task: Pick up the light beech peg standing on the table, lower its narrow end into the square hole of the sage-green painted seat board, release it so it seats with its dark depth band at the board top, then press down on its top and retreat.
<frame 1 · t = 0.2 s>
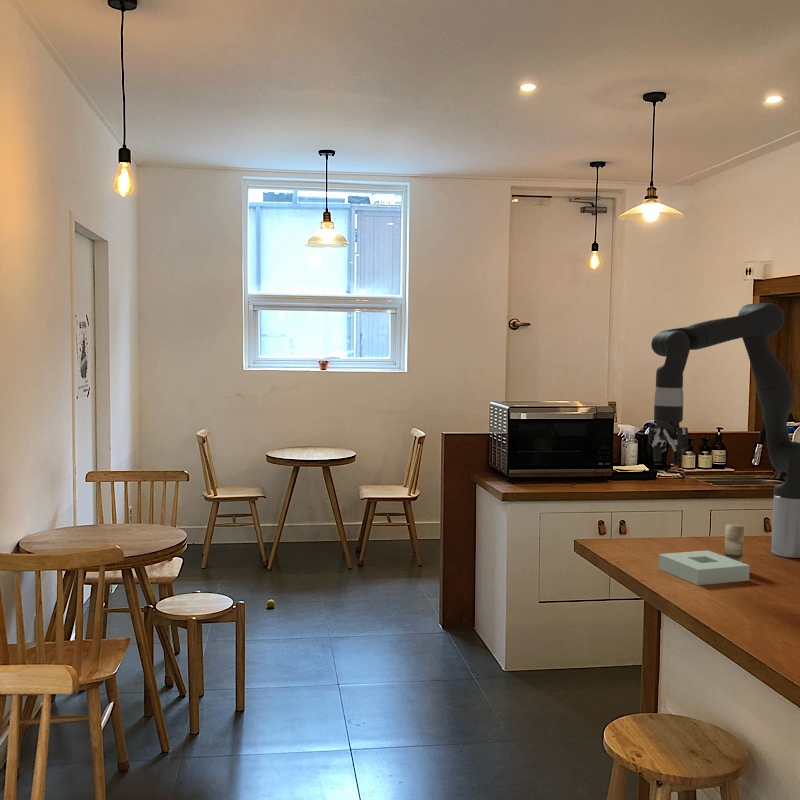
hand: (666, 463, 222), 28 cm above the worktop, fingers open, 8 cm apart
peg: (732, 569, 220), on the worktop
seat board: (702, 574, 215), on the worktop
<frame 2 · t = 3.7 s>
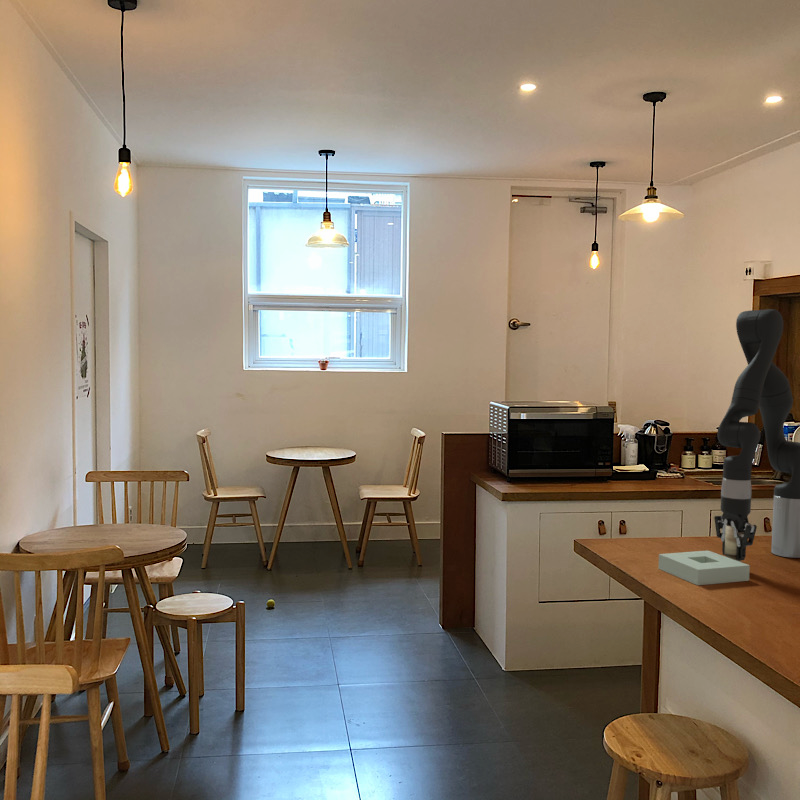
hand: (733, 557, 220), 3 cm above the worktop, fingers closed on peg, 4 cm apart
peg: (732, 569, 220), on the worktop, touching gripper
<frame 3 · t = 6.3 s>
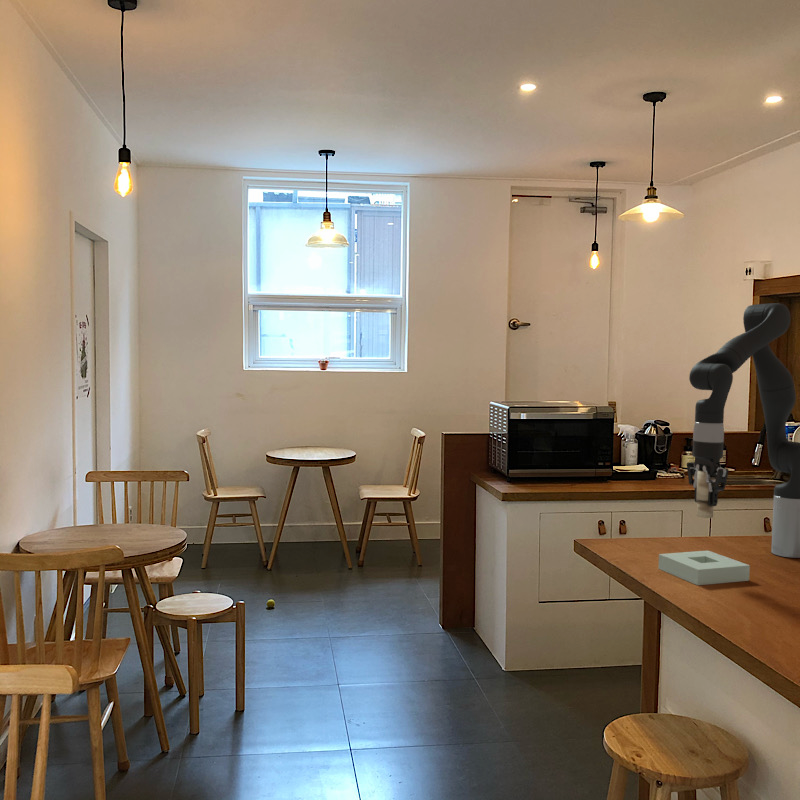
hand: (705, 503, 213), 19 cm above the worktop, fingers closed on peg, 4 cm apart
peg: (704, 516, 214), point 16 cm above the worktop, touching gripper
when the fingers open (6 cm above the worktop, at t = 8.9 s): peg drops 2 cm, resting in seat board.
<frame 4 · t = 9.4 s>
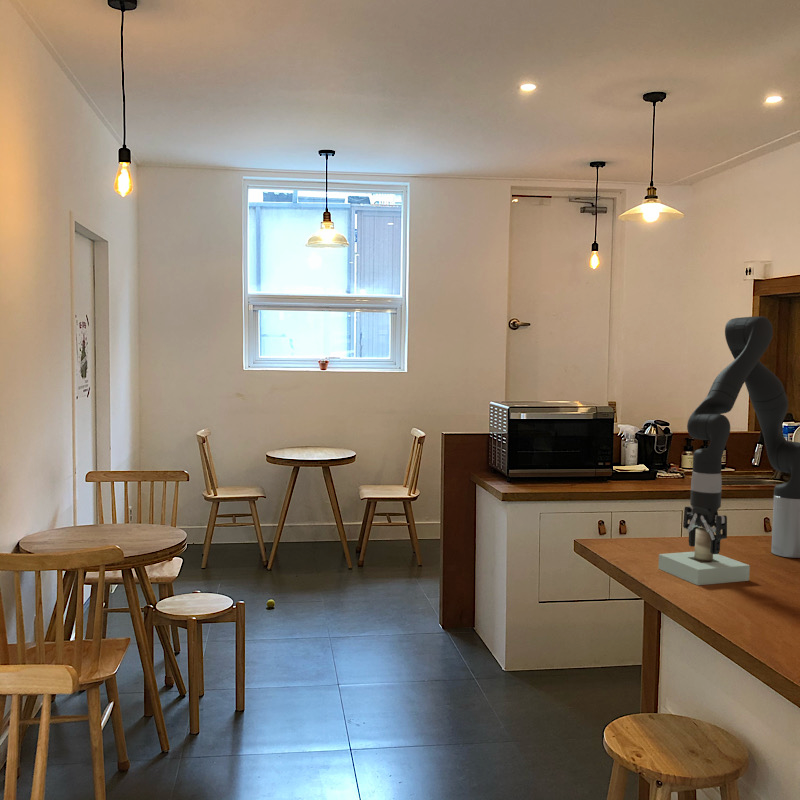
hand: (703, 549, 214), 7 cm above the worktop, fingers open, 8 cm apart
peg: (702, 574, 215), resting in seat board
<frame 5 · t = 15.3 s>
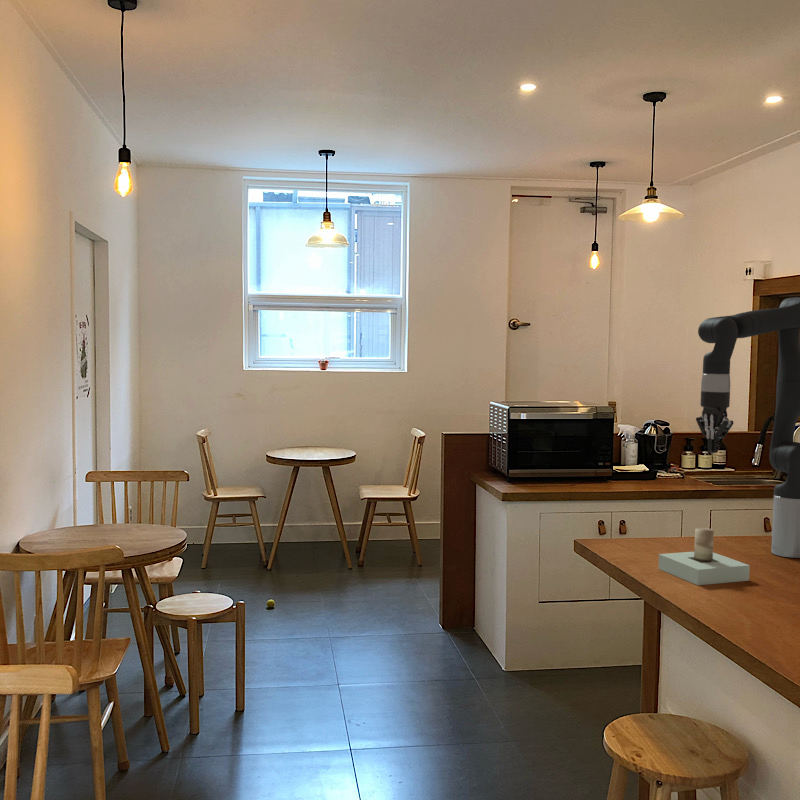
hand: (712, 452, 225), 31 cm above the worktop, fingers closed
nothing on the worktop moved.
at the end: peg 0.0 cm off-centre on the seat board, point 0.0 cm above the seat board's base; peg tilted 0°; the gripper is holding nothing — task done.
